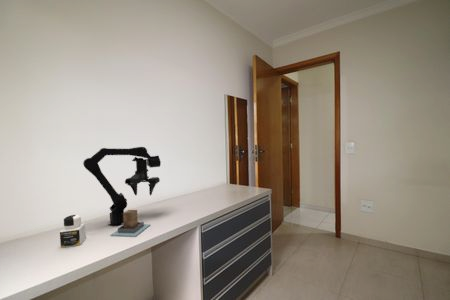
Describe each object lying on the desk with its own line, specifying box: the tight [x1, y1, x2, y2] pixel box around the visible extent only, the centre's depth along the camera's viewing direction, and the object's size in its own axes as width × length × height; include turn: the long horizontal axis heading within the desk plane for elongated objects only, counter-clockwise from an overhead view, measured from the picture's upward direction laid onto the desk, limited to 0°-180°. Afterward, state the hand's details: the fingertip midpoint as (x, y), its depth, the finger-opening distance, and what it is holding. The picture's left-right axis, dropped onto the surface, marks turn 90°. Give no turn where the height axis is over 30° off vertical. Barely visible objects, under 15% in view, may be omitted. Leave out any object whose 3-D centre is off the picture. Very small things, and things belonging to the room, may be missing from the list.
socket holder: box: [109, 221, 151, 238], centre depth 102 cm, size 13×13×3 cm
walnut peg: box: [123, 209, 139, 228], centre depth 102 cm, size 4×4×9 cm
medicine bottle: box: [59, 214, 87, 249], centre depth 91 cm, size 7×7×12 cm
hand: (143, 195), depth 120 cm, fingers open, 9 cm apart
